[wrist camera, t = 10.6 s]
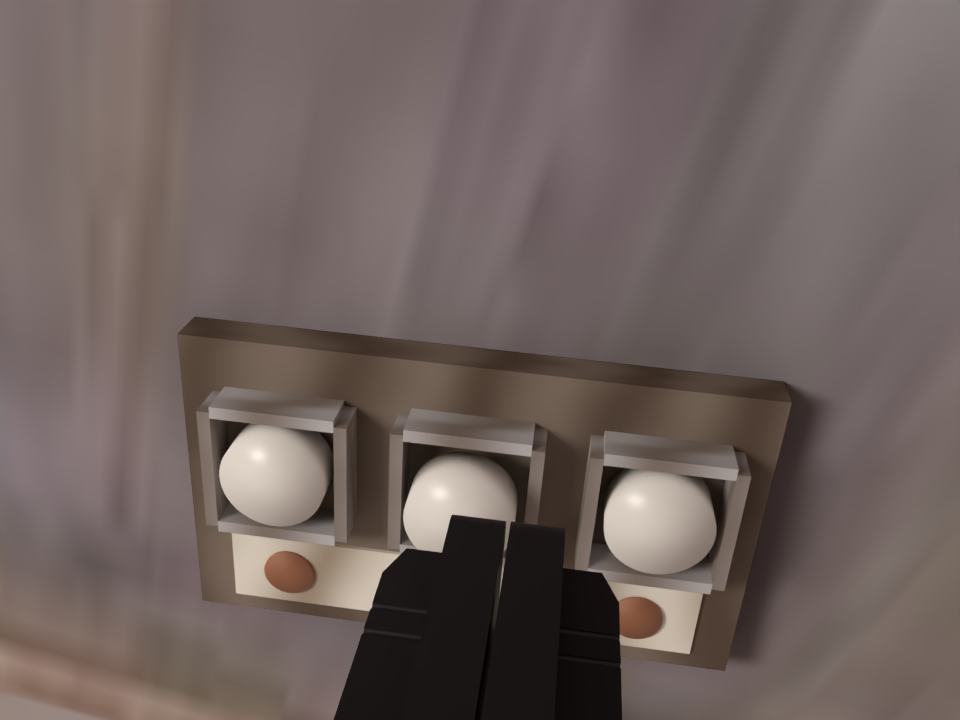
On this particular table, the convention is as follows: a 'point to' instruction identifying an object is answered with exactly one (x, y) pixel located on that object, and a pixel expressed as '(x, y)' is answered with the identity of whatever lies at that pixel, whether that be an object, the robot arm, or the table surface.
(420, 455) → the button board
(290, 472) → the button
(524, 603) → the robot arm
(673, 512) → the button
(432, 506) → the middle button
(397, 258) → the table surface
